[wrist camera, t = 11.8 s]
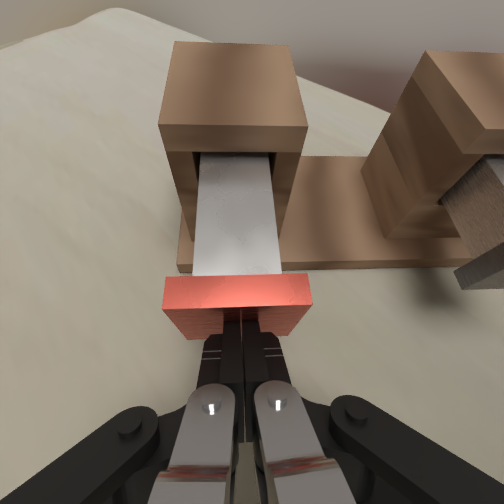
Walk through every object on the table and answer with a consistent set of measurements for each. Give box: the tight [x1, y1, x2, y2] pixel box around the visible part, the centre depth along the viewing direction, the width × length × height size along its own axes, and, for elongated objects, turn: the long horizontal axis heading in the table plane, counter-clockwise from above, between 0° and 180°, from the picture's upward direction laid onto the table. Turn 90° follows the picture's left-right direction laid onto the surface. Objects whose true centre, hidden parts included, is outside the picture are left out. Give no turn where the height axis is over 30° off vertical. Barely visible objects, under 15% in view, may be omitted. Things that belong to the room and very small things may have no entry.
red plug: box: [162, 152, 313, 340], centre depth 15 cm, size 5×15×5 cm, turn 3°
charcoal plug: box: [440, 154, 504, 290], centre depth 17 cm, size 5×15×5 cm, turn 3°
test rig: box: [158, 41, 504, 273], centre depth 20 cm, size 25×12×12 cm, turn 93°
